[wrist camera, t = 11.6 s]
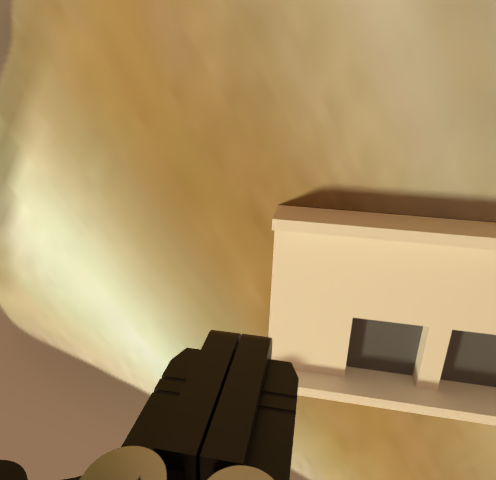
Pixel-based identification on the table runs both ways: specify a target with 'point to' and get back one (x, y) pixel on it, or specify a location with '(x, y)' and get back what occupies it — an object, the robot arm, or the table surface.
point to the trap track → (387, 310)
